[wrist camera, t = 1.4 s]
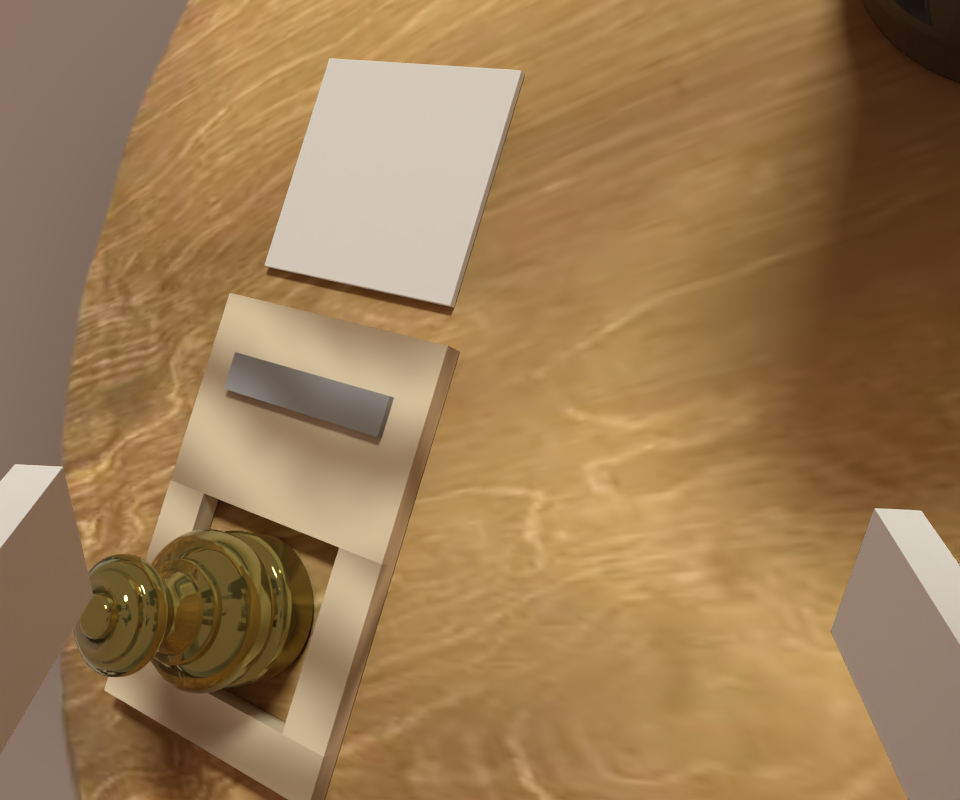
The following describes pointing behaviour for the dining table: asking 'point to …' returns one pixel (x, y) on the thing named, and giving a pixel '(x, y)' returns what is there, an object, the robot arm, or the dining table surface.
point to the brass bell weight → (199, 611)
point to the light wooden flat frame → (301, 510)
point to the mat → (395, 176)
